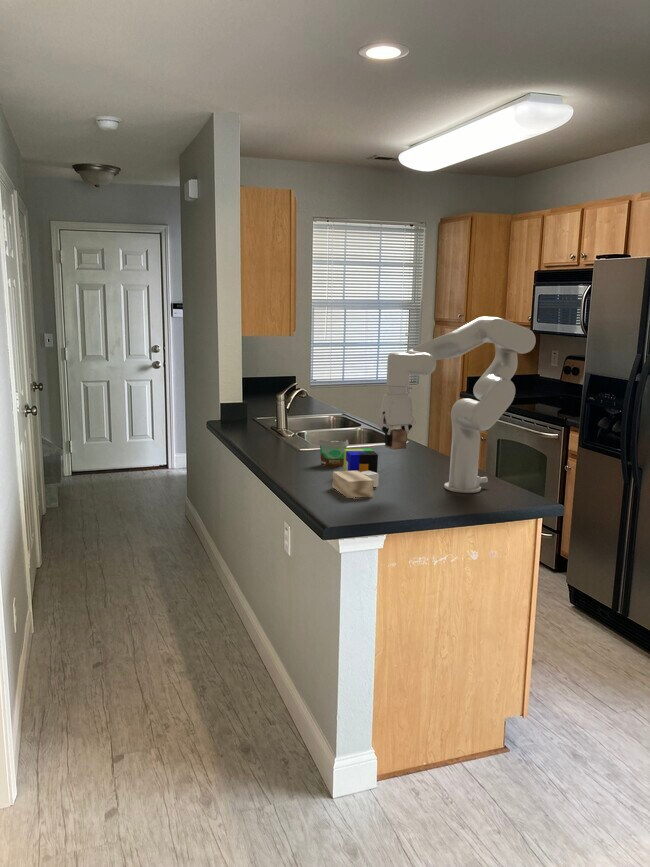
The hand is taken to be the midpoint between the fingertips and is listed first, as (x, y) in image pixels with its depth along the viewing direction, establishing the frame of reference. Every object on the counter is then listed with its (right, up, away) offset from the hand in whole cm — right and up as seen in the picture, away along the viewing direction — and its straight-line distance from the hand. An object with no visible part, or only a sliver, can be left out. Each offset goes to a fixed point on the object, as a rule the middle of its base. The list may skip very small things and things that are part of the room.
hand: (395, 444), depth 237 cm
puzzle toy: (-11, -13, +22) cm, 28 cm away
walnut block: (0, -1, 0) cm, 1 cm away
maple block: (-14, -16, +3) cm, 22 cm away
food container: (-20, -9, +41) cm, 46 cm away
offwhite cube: (-9, -15, +11) cm, 20 cm away
